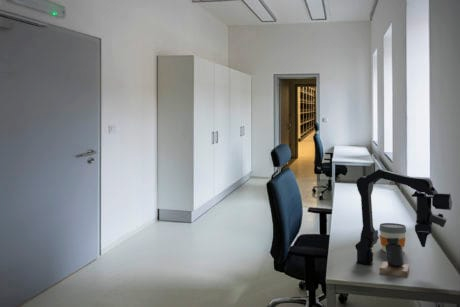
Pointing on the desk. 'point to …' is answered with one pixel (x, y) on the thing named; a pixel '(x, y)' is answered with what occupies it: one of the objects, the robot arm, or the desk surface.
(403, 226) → the reusable coffee cup
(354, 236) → the desk surface
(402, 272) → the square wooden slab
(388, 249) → the supplement bottle
